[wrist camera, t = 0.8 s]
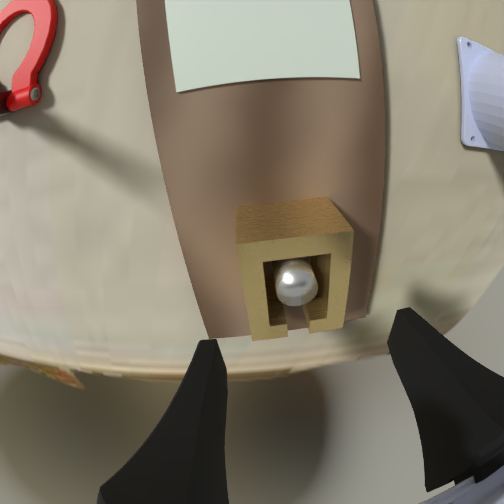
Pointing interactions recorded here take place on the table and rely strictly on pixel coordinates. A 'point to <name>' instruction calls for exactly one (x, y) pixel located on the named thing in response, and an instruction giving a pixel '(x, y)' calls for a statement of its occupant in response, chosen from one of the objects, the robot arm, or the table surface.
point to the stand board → (266, 162)
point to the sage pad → (259, 40)
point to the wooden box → (293, 246)
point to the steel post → (294, 281)
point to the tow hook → (29, 52)
